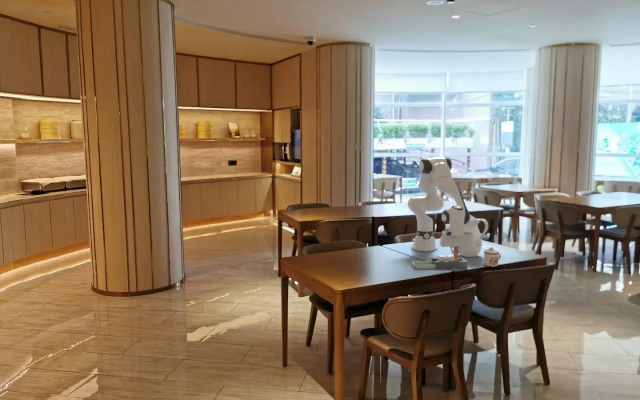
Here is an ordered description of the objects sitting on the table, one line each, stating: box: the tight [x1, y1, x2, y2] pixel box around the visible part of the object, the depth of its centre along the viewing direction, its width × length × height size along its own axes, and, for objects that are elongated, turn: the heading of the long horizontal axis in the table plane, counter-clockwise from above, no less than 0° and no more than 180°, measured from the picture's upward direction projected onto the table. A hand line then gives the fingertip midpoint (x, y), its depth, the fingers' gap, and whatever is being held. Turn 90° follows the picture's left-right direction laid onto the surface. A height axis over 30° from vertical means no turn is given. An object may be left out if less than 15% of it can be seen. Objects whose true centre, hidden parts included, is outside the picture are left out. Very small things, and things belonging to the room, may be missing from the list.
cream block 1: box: [437, 254, 447, 261], centre depth 319 cm, size 4×4×4 cm
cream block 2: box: [446, 254, 455, 261], centre depth 320 cm, size 4×4×4 cm
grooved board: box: [431, 256, 468, 270], centre depth 320 cm, size 10×20×4 cm, turn 91°
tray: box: [411, 260, 436, 270], centre depth 320 cm, size 10×13×2 cm
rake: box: [453, 247, 460, 261], centre depth 319 cm, size 5×3×10 cm, turn 1°
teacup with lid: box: [483, 246, 501, 268], centre depth 323 cm, size 12×9×12 cm
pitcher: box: [459, 214, 489, 258], centre depth 344 cm, size 24×17×28 cm
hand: (455, 253), depth 319 cm, fingers closed on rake, 2 cm apart
